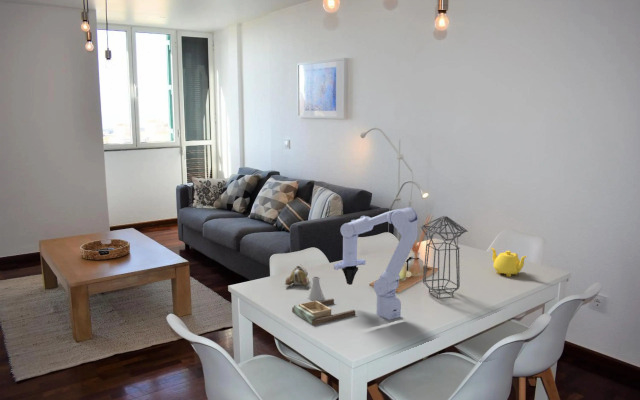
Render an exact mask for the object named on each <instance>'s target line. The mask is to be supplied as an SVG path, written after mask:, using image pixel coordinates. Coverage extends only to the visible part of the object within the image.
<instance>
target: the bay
mask: <svg viewBox="0 0 640 400" xmlns="http://www.w3.org/2000/svg"><path fill="white" fill-rule="evenodd" d="M318 302H320V303H322V304H323V305H325V306H329V305H333V304H335V299H334V298H328V299H323V300H320V301H318ZM291 311H292V313H294V314H295V315H296V316H299V317H300V318H302V319H303V320H305V321H307V322H308V323H309V324H311V325H312V326H316V325H320V324H321V325H322V324H325V323H328V322H332V321H337V320H341V319H345V318H349V317H353V316H356V310H355V309H350V310H348V311H342V312H339V313H335V314H331V315H330V316H326V317H321V318H317V319H315V316H314V315H312V314H311V313H309V312H307V311H306V310H304V309H303V308H301V307H299V304H294V305H293V306H292V309H291Z"/></svg>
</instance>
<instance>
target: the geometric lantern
mask: <svg viewBox="0 0 640 400" xmlns="http://www.w3.org/2000/svg"><path fill="white" fill-rule="evenodd" d="M432 223H433V224H432ZM429 224H432V225H429ZM447 226H448V229H449V230H450V232H448V229H447ZM420 228H421V230H422V232H423V233H424V235H425V236H426V241H428V240H429V239H428V238H430V240H429V241H428V243H426V246H425V252H424V253H425V255H424V265H423V277H422V283H423V285H425V286H426V287H427V288H428V293H429V294H430V295H432V296H433V297H434V298H436V299H446V298H448V299H449V298H454V293H455V292H456V291H458V290H459V289H460V282H461V281H460V246H459V237H461V236H462V235H463V234H465V233H468V232H469V230H468V229H466V228H465V227H463V226H461V225H460V224H459V223H457V222H456V221H455V220H453V219H452V218H450V217H448V216H447V215H441V216H440V217H438V218H435V219H434V220H431V221H430V222H426V223H425V224H422V225H421V226H420ZM425 230H426V231H425ZM438 230H439V231H438ZM444 230H445V231H444ZM455 230H456V231H455ZM442 231H443V232H442ZM431 233H432V234H431ZM435 234H437V235H439V236H440V237H441V239H442V240H443V242H435V243H434V240H433V237H434V235H435ZM442 234H444V235H445V236H446V237H445V236H444V235H442ZM450 234H452V235H453V236H452V238H449V237H448V236H449V235H450ZM455 239H456V240H457V242H456V240H455ZM448 241H450V242H448ZM452 242H454V244H452ZM439 244H440V246H439V247H438V248H437V247H436V246H435V245H439ZM443 244H445V245H444V247H445V248H444V249H443V248H442V249H441V251H444V259H443V269H442V270H443V273H442V278H440V248H441V247H443ZM431 245H432V246H431ZM447 245H448V248H447ZM451 246H453V247H455V248H451ZM430 248H431V249H433V250H434V251H433V263H432V265H433V266H432V267H433V268H432V278H431V279H427V273H428V264H429V263H428V262H429V255H430ZM436 251H437V252H436ZM447 251H448V279H447V278H445V271H446V269H445V268H446V260H447V259H446V258H447ZM451 251H455V262H456V263H455V268H456V283H455V282H454V281H452V280H451V279H450V278H451ZM436 253H437V278H436V279H435V266H436ZM434 281H435V282H436V281H437V286H434ZM440 281H442V285H440ZM444 281H447V282H446V284H445V283H444ZM428 282H431V286H430V285H429V284H428ZM449 282H450V283H452V284H453V285H455V286H456V287H447V286H448V284H449ZM444 284H445V285H444ZM447 290H449V291H447ZM432 292H433V293H436V295H435V294H433V293H432ZM442 294H443V295H444V294H449V296H443V297H441V295H442Z"/></svg>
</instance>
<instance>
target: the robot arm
mask: <svg viewBox="0 0 640 400" xmlns="http://www.w3.org/2000/svg"><path fill="white" fill-rule="evenodd" d="M386 222H387V223H389V224H390V225H391V224H392V225H393V227H394V228H395V229H396V230H397V232H398V233H399V235H400V236H401V237H400V239H399V242H398V243H397V245H396V248H395V250H394V251H393V254H392V256H391V258H390V260H389V262H388V264H387V266H386V267H385V268H386V269H385V270H384V271H383V272H382V274H380V276H379V278H378V279H377V280H376V281H374V282H373V290H374V293H375V294H376V308H375V309H376V311H375V313H376V315H377V316H379V317H382V318H384V319H387V320H388V321H389V320H392V319H397V318H403V315H401V314H402V313H401V312H402V311H401V310H402V309H401V308H402V302H401V300H400V299H399V298H398V297H397V295H396V293H397V292H396V291H397V289H398V288H399V285H400V279H401V275H400V274H401V271H402V269H403V267H404V265H405V263H406V261H407V259H408V258H409V257H408V256H409V254H410V253H411V251H412V249H413V247H414V245H415V243H416V240H417V238H418V222H419V216H418V213H417V211H416V210H415V208H413V207H410V206H407V207H404V208H398V209H393V210H389V211H386V212H383V213H381V214H378V215H376V216H373V217H370V216H367V215H361V216H360V217H359V218H357V219H351V220H350V222H345V223H343V224H342V225H341V227H340V229H339V230H340V234H341V236H342V261H340V262H338V263H334V264H333V270H335V271H338V270H341V271H342V273H343V275H344V276H345V282H346V284H347V285H349V286H350V285H353V283H354V279H355V276H356V274H357V272H358V270H359V267H358V266H365V265H366V264H367V263H366V262H367V261H366V259H364V258H361V259H358V238H359V235H360V234H364V233H367V232H370V231H372V230H373V228H374V226H377V225H380V224H383V223H386Z"/></svg>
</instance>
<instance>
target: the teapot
mask: <svg viewBox="0 0 640 400" xmlns="http://www.w3.org/2000/svg"><path fill="white" fill-rule="evenodd" d="M490 249H491V250H492V258H491V260H492V263H493V269H494V270H495V271H496V274H497V275H501V274H506V277H507V278H511V277H512V275H515V276H517V275H518V273H521V270H522V269H523V268H524V265H525V259H526V258H527V257H528V255H523V256H521V259H520V258H519V255H518V253H516V252H512V251H511V250H505V252H500V253H499V254H498V256H497V251H496V249H495V248H493V247H490Z"/></svg>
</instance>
